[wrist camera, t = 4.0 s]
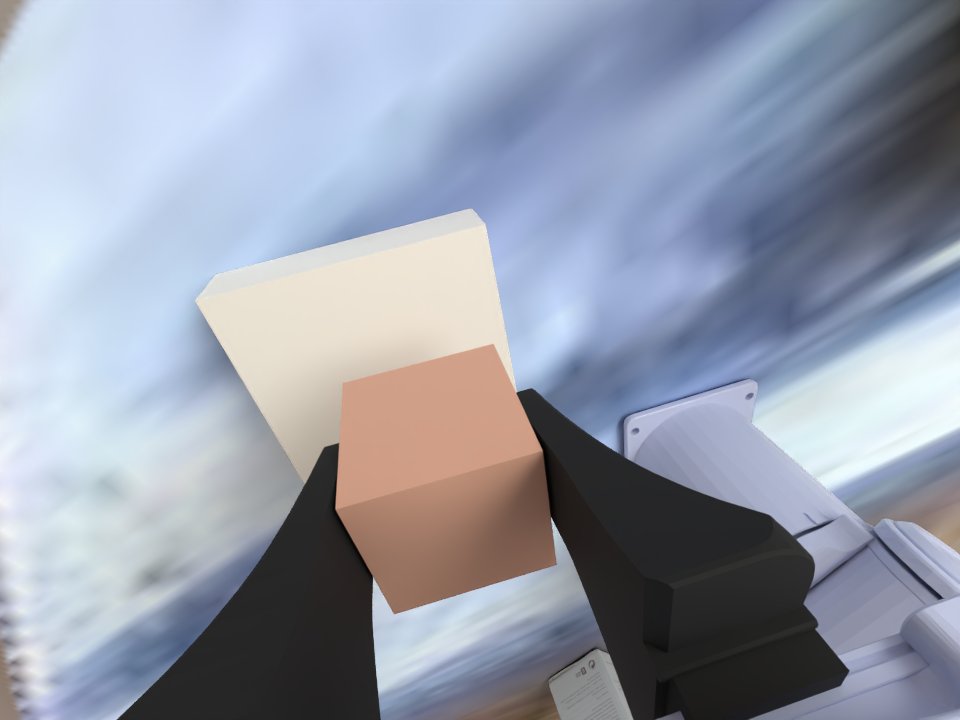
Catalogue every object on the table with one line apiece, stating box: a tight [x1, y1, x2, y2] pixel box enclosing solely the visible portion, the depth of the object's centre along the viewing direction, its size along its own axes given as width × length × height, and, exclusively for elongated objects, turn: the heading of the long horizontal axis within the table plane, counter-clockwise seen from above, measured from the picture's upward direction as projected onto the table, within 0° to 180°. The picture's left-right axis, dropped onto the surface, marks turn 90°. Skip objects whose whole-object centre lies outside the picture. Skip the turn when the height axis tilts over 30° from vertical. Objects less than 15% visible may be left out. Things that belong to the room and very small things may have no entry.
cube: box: [335, 344, 557, 614], centre depth 13 cm, size 4×4×4 cm
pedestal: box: [195, 208, 517, 485], centre depth 19 cm, size 10×10×2 cm
